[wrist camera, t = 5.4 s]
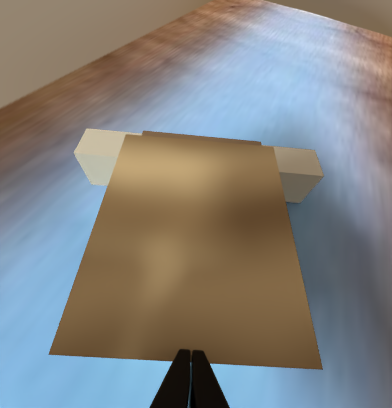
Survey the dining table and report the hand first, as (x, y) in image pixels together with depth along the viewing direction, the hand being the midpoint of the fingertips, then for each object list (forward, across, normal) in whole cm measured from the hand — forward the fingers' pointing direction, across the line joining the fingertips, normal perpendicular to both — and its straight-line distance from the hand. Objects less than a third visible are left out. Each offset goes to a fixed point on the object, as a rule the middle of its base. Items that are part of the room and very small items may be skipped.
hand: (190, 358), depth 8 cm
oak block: (+9, 0, +1) cm, 9 cm away
